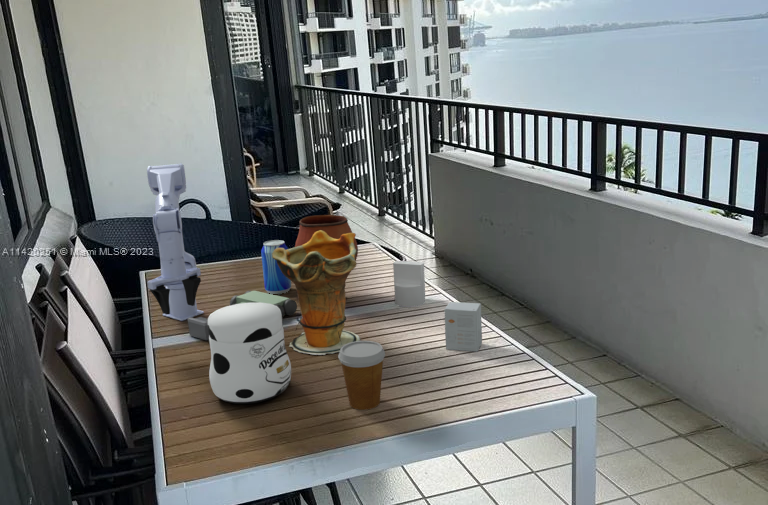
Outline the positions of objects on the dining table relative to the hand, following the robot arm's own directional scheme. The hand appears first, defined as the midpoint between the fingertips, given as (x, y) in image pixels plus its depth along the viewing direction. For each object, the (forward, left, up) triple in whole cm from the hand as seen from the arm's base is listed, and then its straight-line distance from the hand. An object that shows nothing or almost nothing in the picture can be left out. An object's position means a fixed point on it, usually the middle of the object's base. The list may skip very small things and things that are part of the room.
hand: (179, 309), depth 175 cm
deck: (0, +27, -10) cm, 29 cm away
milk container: (+37, -9, -10) cm, 39 cm away
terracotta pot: (+9, +47, -10) cm, 49 cm away
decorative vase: (+31, +21, -10) cm, 38 cm away
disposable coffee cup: (+61, 0, -10) cm, 61 cm away
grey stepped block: (0, +9, -10) cm, 13 cm away
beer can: (-11, +45, -10) cm, 47 cm away
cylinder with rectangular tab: (+32, +57, -10) cm, 66 cm away
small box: (+63, +36, -10) cm, 73 cm away
